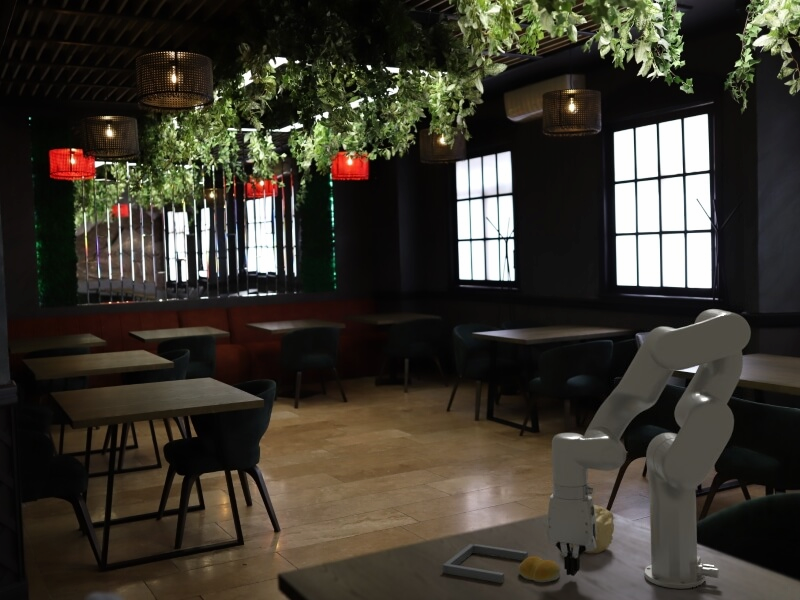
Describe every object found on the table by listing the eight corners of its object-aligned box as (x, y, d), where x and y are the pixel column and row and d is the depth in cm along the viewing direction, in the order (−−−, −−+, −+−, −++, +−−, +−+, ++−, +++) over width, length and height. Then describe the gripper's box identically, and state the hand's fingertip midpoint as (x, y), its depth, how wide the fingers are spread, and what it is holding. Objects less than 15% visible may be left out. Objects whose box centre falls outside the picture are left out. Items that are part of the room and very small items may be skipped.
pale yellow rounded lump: (606, 560, 192) (604, 515, 191) (556, 552, 198) (555, 508, 198) (620, 545, 202) (619, 501, 201) (573, 537, 208) (572, 495, 207)
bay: (527, 559, 195) (527, 551, 195) (502, 583, 182) (502, 575, 181) (471, 550, 202) (471, 543, 202) (442, 572, 189) (442, 565, 189)
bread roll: (550, 586, 179) (549, 568, 179) (514, 578, 185) (513, 560, 185) (567, 573, 186) (567, 556, 185) (532, 565, 191) (531, 549, 191)
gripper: (609, 490, 180) (610, 572, 181) (543, 482, 187) (545, 562, 188) (599, 499, 173) (601, 585, 174) (531, 491, 181) (533, 573, 182)
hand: (572, 573), depth 181 cm, fingers closed
